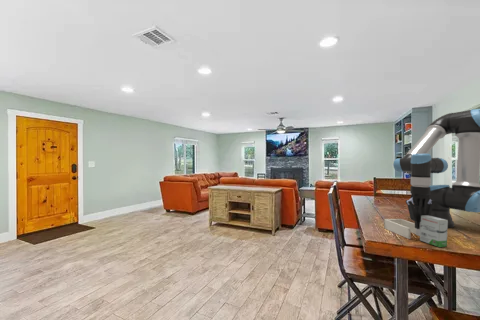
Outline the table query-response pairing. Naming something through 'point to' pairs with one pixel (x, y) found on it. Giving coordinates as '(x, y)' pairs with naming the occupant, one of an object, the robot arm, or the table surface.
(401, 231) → the white u-shaped frame
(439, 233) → the ink box
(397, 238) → the table surface
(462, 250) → the table surface
